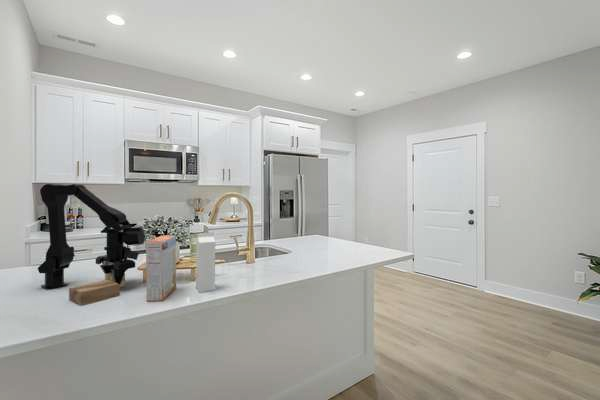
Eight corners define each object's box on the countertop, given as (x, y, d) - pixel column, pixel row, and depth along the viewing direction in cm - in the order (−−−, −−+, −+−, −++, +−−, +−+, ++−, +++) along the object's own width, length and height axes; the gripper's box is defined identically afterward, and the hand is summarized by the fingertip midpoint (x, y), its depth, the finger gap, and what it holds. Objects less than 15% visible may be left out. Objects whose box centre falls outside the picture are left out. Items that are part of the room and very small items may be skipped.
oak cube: (104, 286, 115) (104, 274, 115) (118, 283, 119) (118, 271, 119) (111, 289, 112) (111, 276, 112) (125, 286, 116) (125, 273, 116)
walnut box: (69, 300, 101) (69, 287, 101) (107, 290, 111) (107, 279, 111) (80, 305, 96) (80, 292, 96) (119, 295, 106) (119, 283, 106)
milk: (214, 290, 113) (215, 233, 113) (198, 292, 110) (199, 234, 110) (211, 286, 118) (212, 231, 118) (195, 288, 116) (196, 232, 115)
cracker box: (160, 288, 114) (161, 234, 114) (176, 288, 115) (177, 234, 114) (144, 301, 100) (145, 240, 100) (163, 301, 101) (163, 240, 100)
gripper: (148, 244, 117) (148, 283, 117) (123, 239, 127) (123, 275, 127) (119, 248, 108) (119, 290, 108) (95, 242, 117) (94, 281, 118)
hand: (115, 283), depth 115 cm, fingers closed on oak cube, 5 cm apart
